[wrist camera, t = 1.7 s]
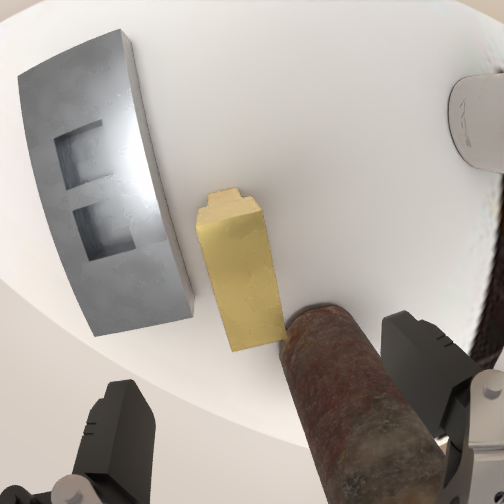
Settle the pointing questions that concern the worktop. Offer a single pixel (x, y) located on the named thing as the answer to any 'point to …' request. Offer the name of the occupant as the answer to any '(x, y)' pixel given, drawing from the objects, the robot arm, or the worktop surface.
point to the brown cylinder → (356, 415)
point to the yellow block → (241, 269)
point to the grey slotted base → (104, 187)
